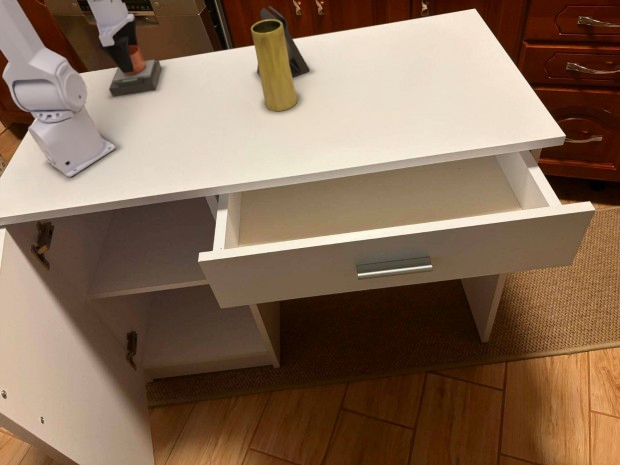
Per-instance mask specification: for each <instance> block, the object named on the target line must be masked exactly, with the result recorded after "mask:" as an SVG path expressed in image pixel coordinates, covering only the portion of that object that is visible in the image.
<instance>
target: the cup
mask: <svg viewBox="0 0 620 465" xmlns="http://www.w3.org/2000/svg"><path fill="white" fill-rule="evenodd" d="M128 47H129V53H130V57H131V60H132V64H133V72H128V73H125V74H127V75H133V74H137V73H139V72H141V71H143V70H144V69H145V65H146V63H145V61H146V60H145V58H144V56H143V53H142V50H141V48H140V47H139V45H138V46H136V45H129V46H128Z"/></svg>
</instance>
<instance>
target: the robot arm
mask: <svg viewBox="0 0 620 465" xmlns="http://www.w3.org/2000/svg"><path fill="white" fill-rule="evenodd" d="M86 1H87V3H88V6H89V8H90V10H91V12H92V14H93V17H94V18H95V21H96V26H97V29H98V33H99V35H98V38H99V39H98V41H97V43H96V44H97V47H98V48H99V49H100V50H101V51H102V52H104V53H105V54H106V55H107V56H108V57H109V58H110V59H111V60H112V61H113V62H114V63H115V65H116V66H117V68H118V67H119V68H120V70H121V71H122V72H123V73H128V72H133V64H132V60H131V57H130V53H129V47H128V46H129V45H136V46H139V44H138V37H137V17H136V16H135V15H134V14H133V13H129V10H128V8H127V5H126V3H125V2H122V0H86ZM0 51H1V53H2V54H3V55H4V57H5V58H6V60H7V61H8V62H7V64H6V66H5V67H4V70H3V73H2V79H3V80H4V82H5V83H6V86H8V89H9V92H10V95H11V99H12V100H13V102H14V103H15V105H16V106H17V107H18V108H19V109H20V110H22V111H24V112H26V113H30V114H31V115H32V117H33V118H34V119H36V120H35V121H34V122H33V123H32V124H30V125H29V126H28V128H27V129H28V132H29V134H30V136H31V137H32V139H33V140H34V142H35V143H36V144H37V146H38V147H39V149H40V150H41V152H42V153H43V155H44V157H45V158H46V160H47V162H48V163H49V164H50V165H52V166H53V167H54V168H56V169H57V170H58V171H59V172H61V173H62V174H64V175H65V176H67V177H68V178H72V177H74V176H75V175H76V174H78V173H79V172H81V171H82V170H84V169H85V168H88V167H89V166H90V165H92V164H94V163H95V162H97V161H98V160H100V159H102V158H103V157H105V156H106V155H108V154H109V153H111V152H112V151H114V150H115V149H116V145H115V144H113V143H111V142H110V141H109V140H106V139H105V138H103V137H102V136H101V134H100V132H99V130H98V128H97V126H96V125H95V122H94V121H93V119H92V117H91V116H90V113H89V112H88V110H87V108H86V106H85V105H86V103H87V99H88V89H87V85H86V82H85V80H84V79H83V77H82V76H81V74H80V73H79V72H78V71H77V70H75V69H74V68H73V67H72V66H71V64H70V63H69V61H68V59H67V58H66V57H65V56H62V55H61V54H60V53H59V54H58V53H57V52H55V51H52V50H51V49H49V48H47V47H46V46H45V45H44V43H43V41H42V40H41V38H40V36H39V35H38V33H37V32H36V30H35V28H34V26H33V24H32V23H31V21H30V20H29V18H28V17H27V15H26V14H25V11H24V10H23V8H22V7H21V5H20V4H19V2H18V0H0Z"/></svg>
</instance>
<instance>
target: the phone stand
mask: <svg viewBox="0 0 620 465" xmlns="http://www.w3.org/2000/svg"><path fill="white" fill-rule="evenodd" d="M267 8H268V9H269V10H270V11H271V12H272V13H273V14H272V13H271V12H269V10H268V9H266V8H265V7H262V9H261V11H260V13H259V14H260V15H259V18H260V21H262V20H266V19H276V20H279V21H281V22H282V24H283V28H284V35H285V41H286V47H287V53H288V59H289V66H290V70H291V74H292V78H293V79H294V78H296V77H299V76H301V75H304V74H307V73H308V72H310V68H309V65H308V64H307V63H306V60H305V59H304V57H303V56H302V53H301V52H300V49H299V48H298V46H297V45H296V43H295V40H294V38H293V37H292V36H291V34H290V31H289V24H288V23H289V22H288V20H287V18H285V17H284V16H283V15H282V14H281V13H280V12H278V11H277V10H276V9H274V7H272V6H270V5H268V6H267ZM256 74H258V76H260V71H259V66H258V65H257V67H256Z"/></svg>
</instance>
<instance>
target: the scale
mask: <svg viewBox="0 0 620 465" xmlns="http://www.w3.org/2000/svg"><path fill="white" fill-rule="evenodd" d="M144 61H145V63H146V65H145V69H144V70H143V71H141V72H139V73H137V74H133V75H127V74H125V73H123V72H122V71H121V70H120V68H119V67H118V66H117V69H116V71H115V73H114V76H113V78H112V80H111V83H110V85H109V88H108V90H109V93H110V95H111V96H112V97H119V96H125V95H132V94H138V93H144V92H145V93H146V92H151V91H156V90H157V86H158V82H159V79H160V76H161V72H162V70H163V69H162V65H161V63H160V61H159V60H155V59H148V60H144Z"/></svg>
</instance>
